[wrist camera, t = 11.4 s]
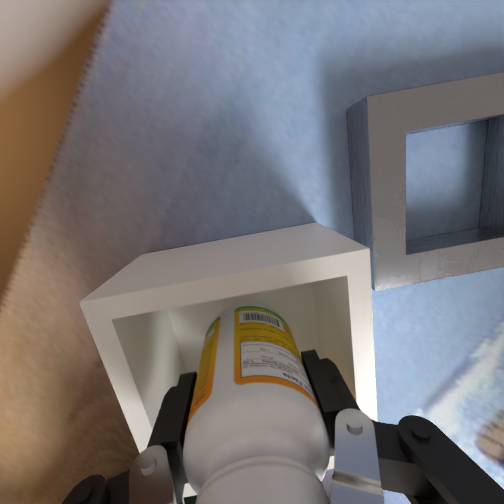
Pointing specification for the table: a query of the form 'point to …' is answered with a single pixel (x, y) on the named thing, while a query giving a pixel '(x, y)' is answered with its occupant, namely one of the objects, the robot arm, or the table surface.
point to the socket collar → (394, 180)
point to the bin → (224, 296)
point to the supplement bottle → (254, 416)
